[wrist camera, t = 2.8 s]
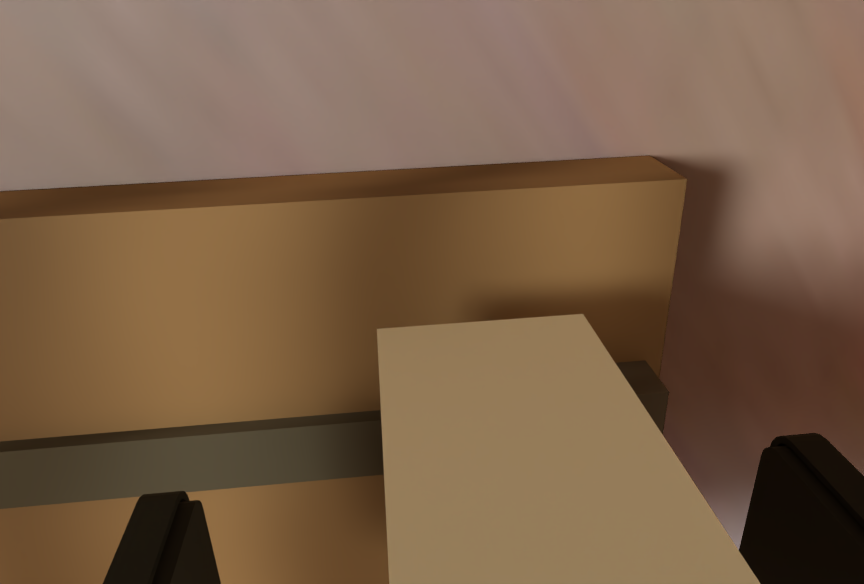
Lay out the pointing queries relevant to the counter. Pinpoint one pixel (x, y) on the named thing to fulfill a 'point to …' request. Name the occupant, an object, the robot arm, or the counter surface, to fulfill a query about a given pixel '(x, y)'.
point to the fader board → (283, 342)
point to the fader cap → (533, 464)
